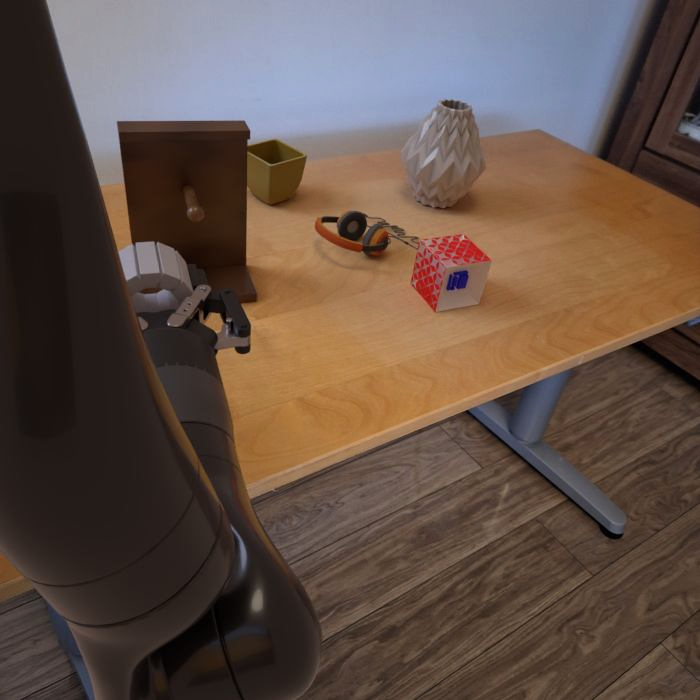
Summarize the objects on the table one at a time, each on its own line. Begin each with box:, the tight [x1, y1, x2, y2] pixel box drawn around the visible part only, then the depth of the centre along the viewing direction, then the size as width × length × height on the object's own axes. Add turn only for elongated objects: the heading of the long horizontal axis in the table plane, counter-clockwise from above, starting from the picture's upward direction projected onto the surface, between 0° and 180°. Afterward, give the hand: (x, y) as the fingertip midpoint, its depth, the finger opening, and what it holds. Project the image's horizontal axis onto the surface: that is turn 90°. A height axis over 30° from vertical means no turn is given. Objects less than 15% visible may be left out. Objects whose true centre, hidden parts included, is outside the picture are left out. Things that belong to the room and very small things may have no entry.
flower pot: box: [247, 138, 308, 206], centre depth 112 cm, size 9×9×9 cm
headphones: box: [314, 210, 419, 256], centre depth 104 cm, size 17×5×20 cm
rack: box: [116, 119, 258, 304], centre depth 83 cm, size 16×10×23 cm, turn 109°
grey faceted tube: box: [118, 242, 194, 313], centre depth 52 cm, size 7×5×7 cm
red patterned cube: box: [410, 233, 493, 313], centre depth 94 cm, size 8×8×8 cm
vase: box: [400, 98, 487, 209], centre depth 117 cm, size 16×16×18 cm
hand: (148, 276), depth 53 cm, fingers closed on grey faceted tube, 6 cm apart
